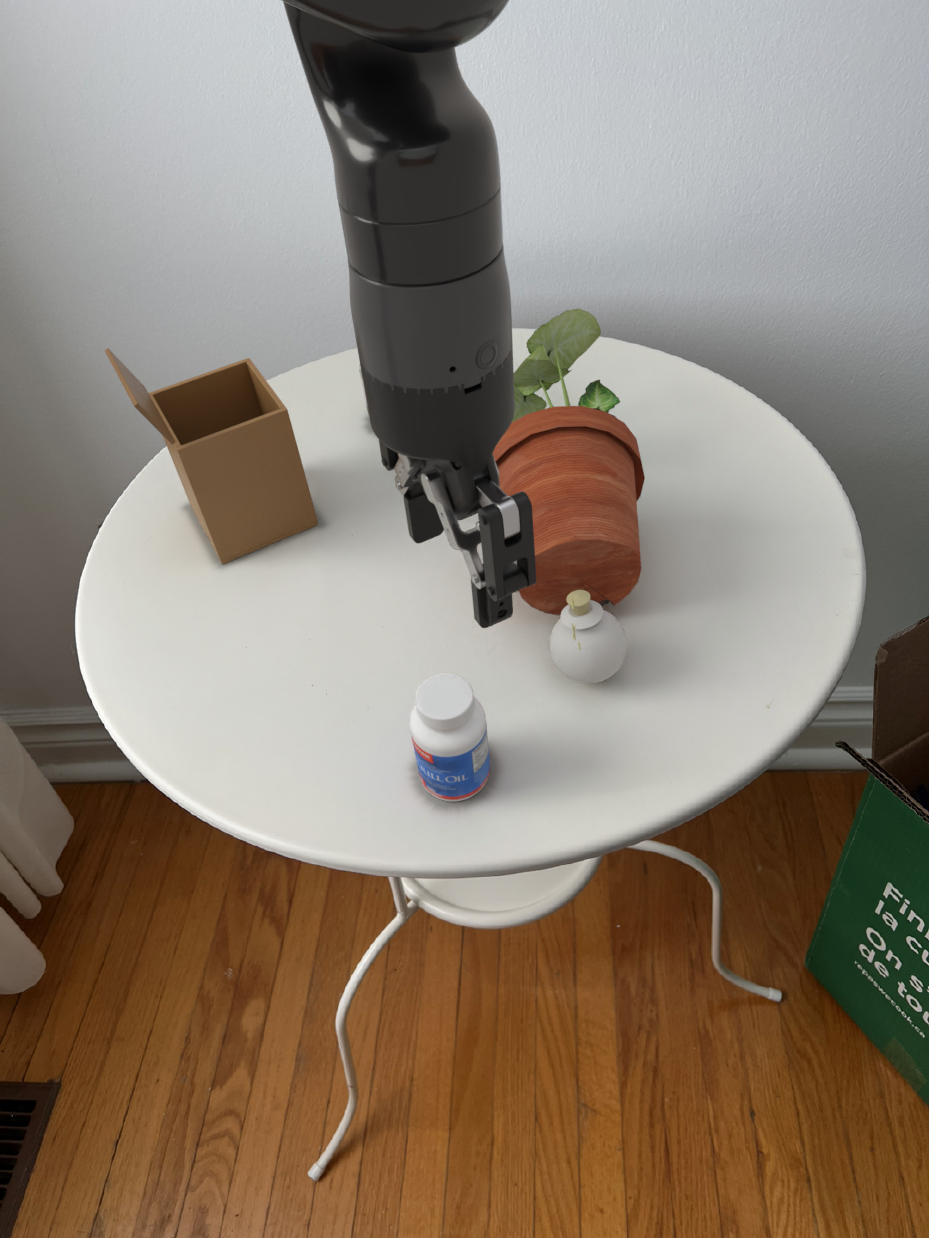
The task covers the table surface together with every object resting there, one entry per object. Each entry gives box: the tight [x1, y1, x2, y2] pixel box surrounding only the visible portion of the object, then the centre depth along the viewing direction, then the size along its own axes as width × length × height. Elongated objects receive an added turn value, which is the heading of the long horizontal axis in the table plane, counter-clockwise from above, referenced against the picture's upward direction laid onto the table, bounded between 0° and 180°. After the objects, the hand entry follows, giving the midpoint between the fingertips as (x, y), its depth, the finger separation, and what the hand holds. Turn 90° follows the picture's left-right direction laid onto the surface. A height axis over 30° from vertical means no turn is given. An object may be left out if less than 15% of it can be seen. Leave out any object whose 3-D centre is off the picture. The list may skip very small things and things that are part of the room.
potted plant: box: [493, 308, 646, 616], centre depth 84 cm, size 16×15×35 cm
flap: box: [104, 347, 175, 445], centre depth 78 cm, size 5×10×1 cm
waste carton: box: [148, 357, 319, 565], centre depth 86 cm, size 10×10×14 cm
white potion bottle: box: [549, 590, 628, 685], centre depth 71 cm, size 6×7×10 cm
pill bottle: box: [409, 672, 491, 802], centre depth 66 cm, size 6×5×10 cm
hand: (459, 576), depth 56 cm, fingers open, 8 cm apart
